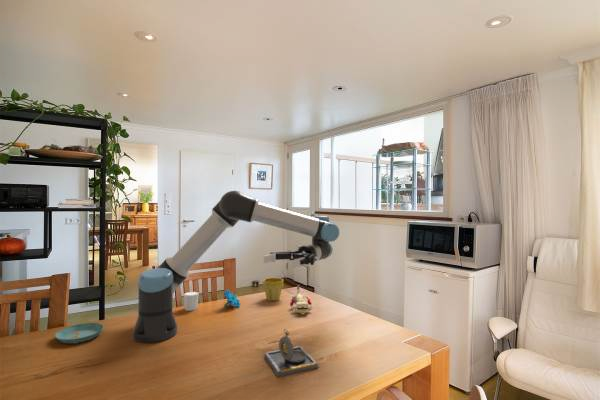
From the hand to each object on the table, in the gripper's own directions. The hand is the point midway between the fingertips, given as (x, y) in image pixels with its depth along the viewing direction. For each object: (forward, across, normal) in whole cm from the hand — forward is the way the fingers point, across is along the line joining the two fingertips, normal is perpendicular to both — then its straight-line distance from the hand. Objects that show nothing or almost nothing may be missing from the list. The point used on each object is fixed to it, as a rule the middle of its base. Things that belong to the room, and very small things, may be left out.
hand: (278, 261), depth 120 cm
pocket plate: (+12, -14, -28) cm, 34 cm away
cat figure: (-34, +12, -28) cm, 46 cm away
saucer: (+40, +59, -28) cm, 77 cm away
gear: (-16, +39, -28) cm, 50 cm away
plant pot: (-36, +30, -28) cm, 55 cm away
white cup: (-2, +52, -28) cm, 59 cm away
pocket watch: (+12, -15, -27) cm, 33 cm away
